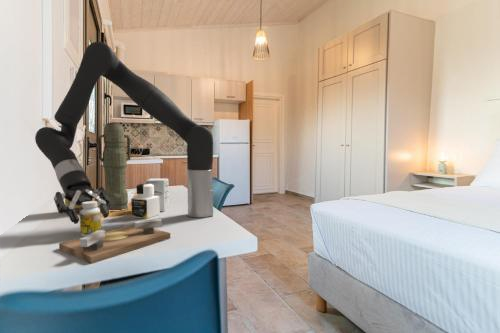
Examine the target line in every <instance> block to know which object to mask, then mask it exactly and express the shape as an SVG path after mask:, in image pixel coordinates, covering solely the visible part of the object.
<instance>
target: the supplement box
mask: <svg viewBox="0 0 500 333" xmlns="http://www.w3.org/2000/svg"><path fill="white" fill-rule="evenodd" d="M169 180H170V179H169V178H148V179H146V180H145V184H153V185H154V195H153V196H159V208H160V212H162V213H163V212H166V211H167V210H168V209H169V205H170V204H169V203H170V202H169V200H170V199H169V198H170V196H169V193H170V191H169V189H170V188H169V182H170V181H169Z"/></svg>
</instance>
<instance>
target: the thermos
mask: <svg viewBox="0 0 500 333" xmlns="http://www.w3.org/2000/svg"><path fill="white" fill-rule="evenodd" d="M102 138H103V143H104V146H103V151H102ZM125 138H126V144H127V145H126V146H127V148H125ZM125 149H127V151H126V150H125ZM97 150H98V151H97V154H98V160H99V161H100V162H102V167H103V169H104V190H105V191H106V193H107V194H108V196H109V198H110V199H111V201H110V202H109V204H108V206H107V208H108V210H122V209H126V208H129V207H128V203H129V196H128V194H129V193H128V191H127V172H126V171H127V170H126V168H127V166H128V164H127V162H128V161H131V156H132V154H131V137H130V136H129V135H127V134H125V130H124V127H123V124H121V123H119V122H108V123H105V125H104V128H103V134H100V135H99V137H98V138H97ZM126 210H127V209H126Z"/></svg>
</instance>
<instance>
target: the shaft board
mask: <svg viewBox="0 0 500 333" xmlns="http://www.w3.org/2000/svg"><path fill="white" fill-rule="evenodd" d="M162 222H163V221H162V219H161V218H157V219H149V220H148V219H145V220H139V221H138V220H136V221H134V224H133V225H128V226H125V227H121V228H115V229H112V230H109V231H106V230H102V229H101V230H98V231H95V232H93V233H91V234H89V235H87V236H85V237H84V236H82V237H79V238H75V239H72V240H67V241H62V242H59V243H58V245H59V246H58V247H59V250H60V251H63V252H65V253H67V254H69V255H71V256H73V257H76V258H79V259H80V260H82V261H85V262H86V263H89V264H95V263H97V262H98V263H99V262H101V261H104V260H107V259H110V258H113V257H116V256H119V255H124V254H127V253H129V252H132V251H135V250H136V251H137V250H138V249H141V248H145V247H147V246H151V245H154V244H157V243H161V242H163V241H165V239H167V240H169V239H168V238H170V239H171V232H168V231H165V230H160V229H156V228H162ZM156 242H157V243H156Z"/></svg>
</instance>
